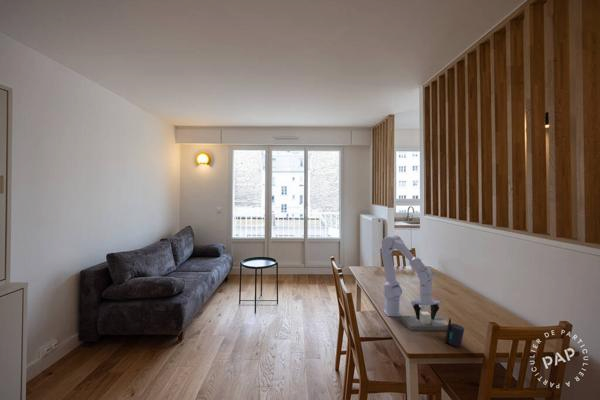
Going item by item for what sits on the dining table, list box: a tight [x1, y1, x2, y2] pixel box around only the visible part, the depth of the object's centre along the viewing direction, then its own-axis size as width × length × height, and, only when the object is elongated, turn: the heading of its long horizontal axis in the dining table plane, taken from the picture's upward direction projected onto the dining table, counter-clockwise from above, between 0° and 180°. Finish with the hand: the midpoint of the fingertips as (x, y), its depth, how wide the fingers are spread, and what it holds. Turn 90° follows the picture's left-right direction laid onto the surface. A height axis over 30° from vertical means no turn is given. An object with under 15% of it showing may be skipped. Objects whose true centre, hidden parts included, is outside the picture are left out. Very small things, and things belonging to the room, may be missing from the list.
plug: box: [420, 311, 431, 324], centre depth 156 cm, size 4×4×6 cm
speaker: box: [445, 317, 465, 348], centre depth 137 cm, size 8×6×10 cm
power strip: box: [400, 315, 449, 331], centre depth 157 cm, size 13×22×3 cm, turn 91°
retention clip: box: [419, 305, 431, 312], centre depth 163 cm, size 12×2×6 cm, turn 106°
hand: (425, 319), depth 156 cm, fingers open, 7 cm apart
